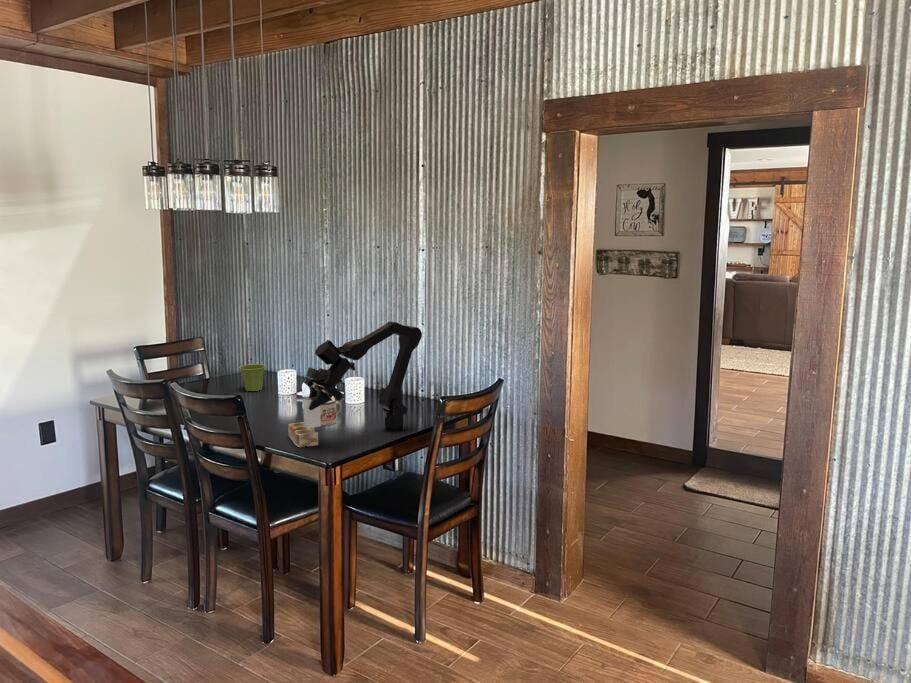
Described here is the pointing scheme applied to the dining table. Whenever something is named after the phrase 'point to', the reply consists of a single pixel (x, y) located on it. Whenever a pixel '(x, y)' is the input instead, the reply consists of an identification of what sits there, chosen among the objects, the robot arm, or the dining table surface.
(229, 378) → the dining table surface
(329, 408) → the teacup with lid
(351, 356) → the robot arm
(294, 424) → the birch rack
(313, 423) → the aluminium panel
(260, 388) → the plant pot
